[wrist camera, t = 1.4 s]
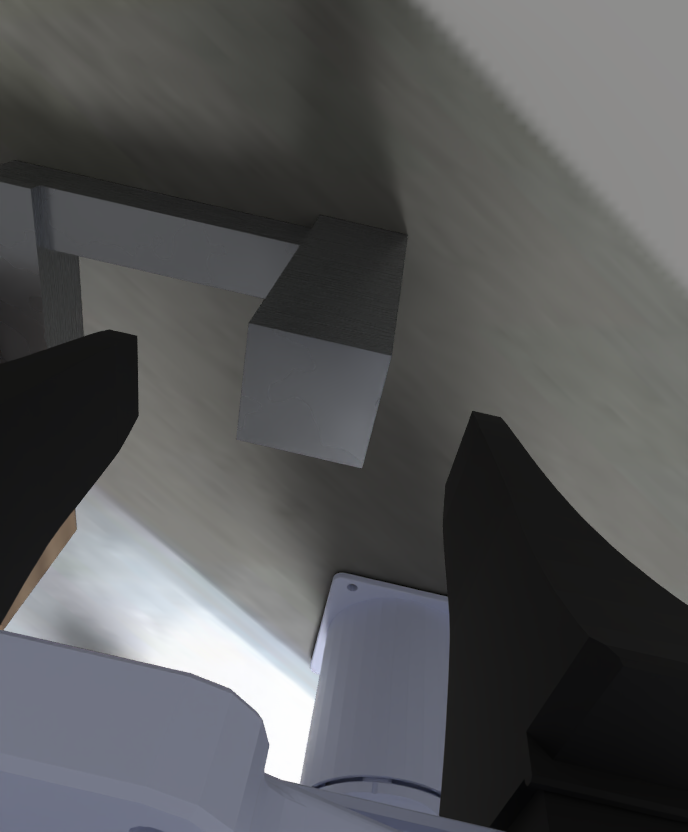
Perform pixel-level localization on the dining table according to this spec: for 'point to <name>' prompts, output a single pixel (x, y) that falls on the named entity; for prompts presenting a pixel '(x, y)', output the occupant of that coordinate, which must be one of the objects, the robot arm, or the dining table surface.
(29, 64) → the dining table surface
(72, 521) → the cubby
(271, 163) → the dining table surface
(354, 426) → the grey angled block
